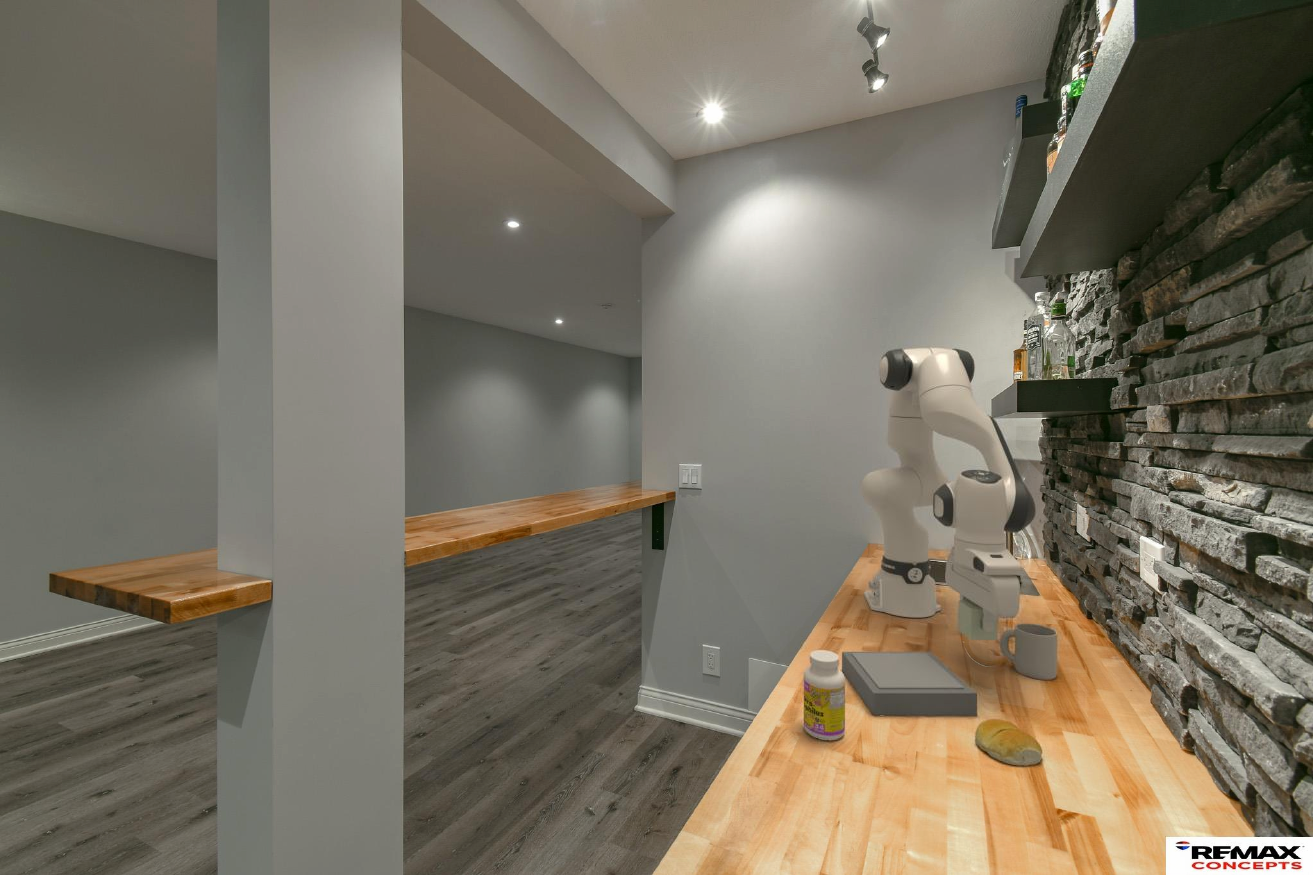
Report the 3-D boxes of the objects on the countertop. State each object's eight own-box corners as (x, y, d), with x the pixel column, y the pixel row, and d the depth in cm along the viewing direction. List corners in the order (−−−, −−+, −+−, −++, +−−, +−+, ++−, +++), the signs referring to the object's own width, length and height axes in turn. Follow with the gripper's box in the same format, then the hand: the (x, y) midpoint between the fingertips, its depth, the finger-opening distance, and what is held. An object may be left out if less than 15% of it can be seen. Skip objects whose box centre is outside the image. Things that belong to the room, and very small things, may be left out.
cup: (1054, 684, 111) (1054, 639, 110) (995, 669, 117) (996, 627, 117) (1059, 671, 116) (1059, 628, 116) (1003, 658, 123) (1003, 617, 122)
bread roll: (1008, 733, 94) (1008, 709, 94) (1052, 765, 85) (1052, 739, 85) (962, 736, 93) (962, 712, 93) (1002, 769, 84) (1002, 743, 84)
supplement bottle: (795, 725, 96) (795, 651, 96) (826, 717, 99) (826, 644, 99) (821, 746, 90) (821, 666, 90) (854, 736, 93) (854, 659, 92)
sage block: (957, 629, 114) (958, 600, 113) (982, 629, 114) (983, 600, 113) (970, 639, 109) (971, 609, 108) (997, 640, 109) (998, 609, 108)
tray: (842, 670, 117) (842, 650, 117) (929, 670, 117) (929, 650, 117) (873, 715, 99) (873, 691, 99) (977, 715, 99) (977, 691, 99)
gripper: (937, 541, 121) (936, 605, 121) (992, 568, 100) (990, 645, 101) (967, 541, 121) (966, 605, 121) (1028, 568, 100) (1025, 645, 101)
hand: (977, 623), depth 111 cm, fingers closed on sage block, 5 cm apart
